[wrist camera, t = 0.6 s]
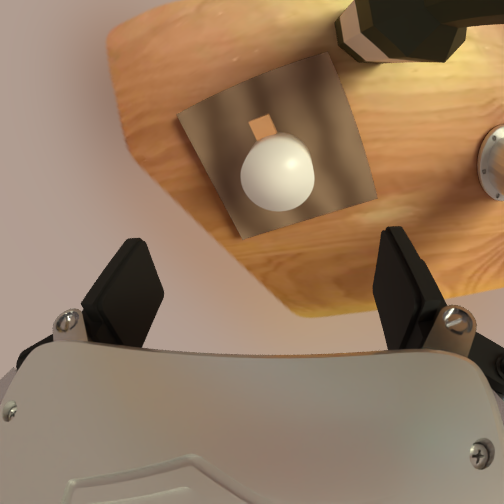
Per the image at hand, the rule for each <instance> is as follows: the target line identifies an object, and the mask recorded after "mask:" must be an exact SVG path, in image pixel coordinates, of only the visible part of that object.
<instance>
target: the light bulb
mask: <svg viewBox="0 0 504 504" xmlns="http://www.w3.org/2000/svg"><path fill="white" fill-rule="evenodd" d="M248 123H249V125H250V127H251V129H252V131H253V133H254V136H255V138H256V140H257V141H256V142H255V143H254V145H253V146H252V148H251V150H250V152H249V153H248V155H247V157H246V159H245V161H244V163H243V165H242V168H241V184H242V187H243V190H244V192H245V193H246V195H247V196H248V198H249V199H250V200H251V201H252V202H254V203H255V204H256V205H258V206H259V207H261V208H264V209H266V210H270V211H287V210H291V209H294V208H296V207H298V206H299V205H301V204H302V203H303V202H304V201H305V200H306V199H307V198H308V197H309V195H310V194H311V192H312V189H313V186H314V170H313V165H312V160H311V155H310V152H309V150H308V148H307V147H306V145H305V144H304V143H303V142H302V141H301V140H300V139H298V138H297V137H295V136H293V135H291V134H288V133H282V132H277V130H276V128H275V126H274V124H273V121H272V119H271V117H270V115H269V113H268V114H266V115H263V116H261V117H258V118H256V119H253V120H251V121H249V122H248Z"/></svg>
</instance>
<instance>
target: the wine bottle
mask: <svg viewBox="0 0 504 504" xmlns="http://www.w3.org/2000/svg"><path fill="white" fill-rule="evenodd" d="M493 24H504V0H354V1H353V2H352V3H351V4H350V5H349V6H348V8H347V9H346V10H345V11H344V12H343V13H342V15H341V16H340V17H339V18H338V19H337V20H336V22H335V28H336V34H337V41H338V46H339V47H341V48H342V49H343V50H344V51H346V52H347V53H348V54H349V55H350V56H352V57H353V58H354V59H355V60H356V61H357V62H364V63H399V62H443V63H445V62H446V60H447V59H448V58H449V57H450V56H451V55H452V54H453V53H454V52H455V51H456V50H457V49H458V48H459V47H460V46H461V44H462V43H463V42H464V41H465V38H466V30H467V27H470V26H480V25H493Z"/></svg>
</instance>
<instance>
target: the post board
mask: <svg viewBox="0 0 504 504" xmlns="http://www.w3.org/2000/svg"><path fill="white" fill-rule="evenodd" d="M268 113H269V115H270V117H271V119H272V121H273V124H274V126H275V128H276V130H277V132H282V133H288V134H291V135H293V136H295V137H297V138H298V139H300V140H301V141H302V142H303V143H304V144H305V145H306V147H307V148H308V150H309V152H310V155H311V160H312V165H313V170H314V186H313V189H312V192H311V194H310V195H309V197H308V198H307V199H306V200H305V201H304V202H303V203H302V204H301V205H299V206H298V207H296V208H294V209H291V210H287V211H270V210H266V209H264V208H261V207H259V206H258V205H256V204H255V203H254V202H252V201H251V200H250V199H249V198H248V196H247V195H246V193H245V192H244V190H243V187H242V184H241V168H242V165H243V163H244V161H245V159H246V157H247V155H248V153H249V152H250V150H251V148H252V146H253V145H254V143H255V142H256V141H257V140H256V138H255V136H254V133H253V131H252V129H251V127H250V125H249V123H248V122H249V121H251V120H253V119H256V118H258V117H261V116H263V115H266V114H268ZM176 115H177V117H178V119H179V121H180V122H181V124H182V126H183V128H184V130H185V132H186V134H187V136H188V138H189V139H190V141H191V143H192V145H193V147H194V149H195V151H196V153H197V155H198V157H199V158H200V160H201V162H202V164H203V166H204V168H205V170H206V172H207V174H208V175H209V177H210V179H211V181H212V183H213V185H214V187H215V189H216V191H217V192H218V194H219V196H220V198H221V200H222V202H223V204H224V206H225V208H226V209H227V211H228V213H229V215H230V217H231V219H232V221H233V223H234V225H235V226H236V228H237V230H238V232H239V234H240V236H241V238H242V240H243V239H247V238H250V237H253V236H256V235H259V234H262V233H266V232H269V231H272V230H275V229H279V228H282V227H285V226H288V225H291V224H295V223H298V222H301V221H304V220H308V219H311V218H314V217H318V216H321V215H324V214H327V213H331V212H334V211H337V210H341V209H344V208H347V207H351V206H354V205H357V204H361V203H364V202H367V201H371V200H374V199H378V198H377V194H376V190H375V186H374V182H373V178H372V174H371V171H370V167H369V164H368V160H367V157H366V153H365V150H364V147H363V144H362V140H361V137H360V134H359V131H358V128H357V125H356V122H355V119H354V116H353V114H352V111H351V108H350V105H349V103H348V100H347V97H346V95H345V92H344V89H343V87H342V84H341V82H340V79H339V77H338V74H337V72H336V70H335V67H334V65H333V63H332V60H331V58H330V56H329V54H328V52H325V53H322V54H318V55H315V56H312V57H309V58H306V59H303V60H300V61H297V62H294V63H291V64H288V65H285V66H282V67H280V68H277V69H274V70H272V71H269V72H266V73H264V74H261V75H259V76H256V77H254V78H251V79H249V80H247V81H244V82H242V83H240V84H237V85H235V86H233V87H231V88H228V89H226V90H224V91H222V92H220V93H218V94H216V95H213V96H211V97H209V98H207V99H205V100H203V101H201V102H199V103H197V104H195V105H193V106H191V107H190V108H188V109H186V110H184V111H182V112H180V113H178V114H176Z"/></svg>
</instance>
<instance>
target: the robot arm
mask: <svg viewBox="0 0 504 504" xmlns="http://www.w3.org/2000/svg"><path fill="white" fill-rule="evenodd" d="M477 168H478V176H479V180H480V183H481V186H482V187H483V189H484V191H485V192H486V193H487V194H488V195H489V196H491V197H492V198H493V199H495V200H498V201H504V124H503V125H499V126H497V127H495V128H493V129H492V130H491V131H490V132H489V133H488V134H487V136H486V137H485V139H484V141H483V142H482V145H481V147H480V150H479V155H478V163H477ZM373 295H374V298H375V302H376V305H377V309H378V312H379V316H380V320H381V324H382V327H383V331H384V335H385V339H386V343H387V347H388V350H384V351H371V352H355V353H336V354H311V355H237V354H212V353H195V352H182V351H169V350H158V349H148V348H142V346H143V343H144V341H145V339H146V336H147V334H148V332H149V329H150V327H151V325H152V322H153V320H154V318H155V316H156V313H157V311H158V308H159V307H160V304H161V302H162V300H163V298H164V290H163V287H162V285H161V282H160V279H159V277H158V275H157V271H156V269H155V266H154V263H153V261H152V258H151V255H150V252H149V250H148V247H147V244H146V242H145V241H143V240H142V239H141V238H132V239H131V238H130V239H127V240H126V241H125V242H124V243H123V245H122V246H121V247H120V249H119V250H118V252H117V253H116V254H115V256H114V257H113V258H112V259H111V261H110V262H109V264H108V265H107V266H106V268H105V269H104V270H103V272H102V273H101V275H100V276H99V277H98V279H97V280H96V282H95V283H94V285H93V286H92V288H91V289H90V290H89V292H88V293H87V295H86V296H85V298H84V299H83V301H82V302H81V305H82V307H83V308H84V309H83V311H82V312H81V311H80V310H79V309H69V310H67V311H65V312H63V313H62V314H60V315H59V316H58V317H57V319H56V320H55V322H54V324H53V334H52V335H50V336H48V337H47V338H45V339H43V340H41V341H39V342H38V343H36V344H34V345H33V346H31V347H29V348H27V349H26V350H24V351H23V352H22V353H21V354H20V356H19V358H18V360H17V365H16V368H17V369H15V368H14V367H13V368H12V369H11V370H10V371H9V372H8V373H7V374H6V375H5V376H4V377H3V378H2V379H1V380H0V504H504V348H503V347H501V346H500V345H498V344H496V343H495V342H493V341H491V340H489V339H488V338H486V337H484V336H482V335H481V334H479V333H477V332H476V327H477V324H476V320H475V318H474V316H473V315H472V313H471V312H470V311H469V310H467V309H465V308H464V307H461V306H458V305H449V306H447V304H446V302H445V300H444V298H443V296H442V294H441V292H440V290H439V288H438V286H437V284H436V282H435V280H434V278H433V277H432V275H431V273H430V271H429V269H428V267H427V265H426V264H425V262H424V261H423V260H422V259H420V257H419V255H418V253H417V252H416V250H415V248H414V246H413V245H412V243H411V241H410V240H409V238H408V236H407V235H406V233H405V231H404V230H403V228H402V227H401V226H392V227H387V228H386V230H383V231H382V232H381V239H380V246H379V252H378V259H377V265H376V271H375V276H374V282H373Z"/></svg>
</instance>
